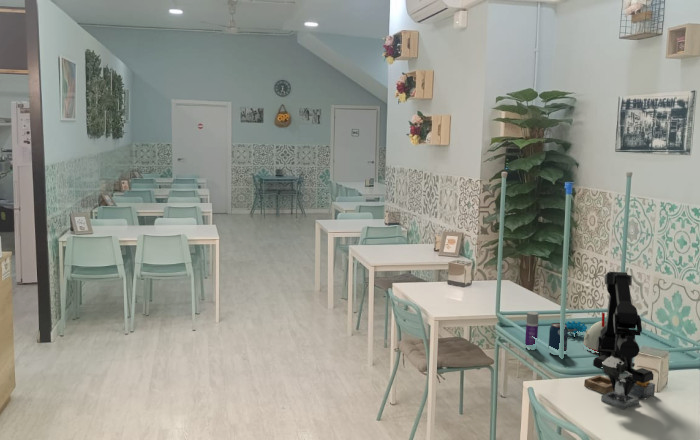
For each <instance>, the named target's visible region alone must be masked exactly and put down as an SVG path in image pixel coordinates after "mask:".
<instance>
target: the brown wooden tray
mask: <svg viewBox="0 0 700 440" xmlns="http://www.w3.org/2000/svg"><path fill="white" fill-rule="evenodd" d="M583 385H584V387H585V388H589V389H591V390H593V391H597V392H599V393H602V394H603V395H604V394H607V393H610V392H613V387H612V384H611V381H610V378H609V377H607V376H604V375H602V374H601V375H600V374H597V375H595V376H591V377H588V378H586V379H584V384H583Z"/></svg>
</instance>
